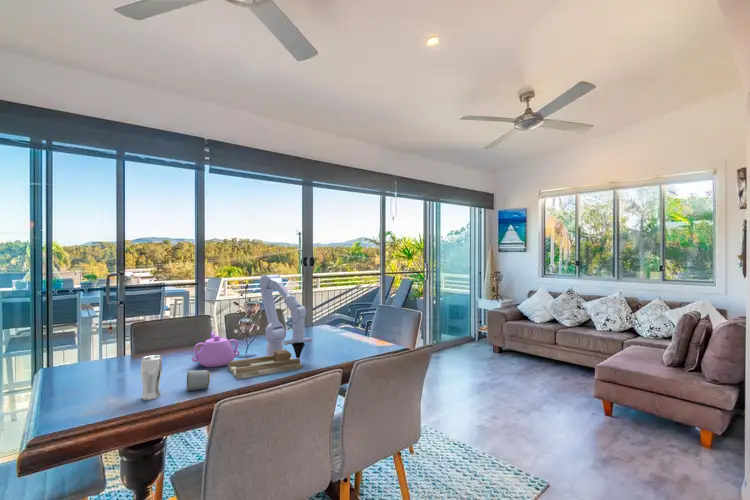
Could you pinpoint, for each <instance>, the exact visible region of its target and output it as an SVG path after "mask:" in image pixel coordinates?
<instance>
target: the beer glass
mask: <svg viewBox="0 0 750 500" xmlns="http://www.w3.org/2000/svg"><path fill="white" fill-rule="evenodd" d="M162 359H163V357H162V356H161V355H157V354H156V355H148V356H144V357H142V358H141V363H140V378H141V382H142V394H141V400H143V401H152V400H155V399H158V398H160V397H161V392H160V381H161V378H162V371H163V364H162V363H163V361H162ZM159 396H160V397H159ZM151 399H152V400H151Z"/></svg>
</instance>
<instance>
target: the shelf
mask: <svg viewBox="0 0 750 500" xmlns="http://www.w3.org/2000/svg"><path fill="white" fill-rule="evenodd" d="M273 359H274V355H271V356H266V355H264V356H257V357H252V358H244V359H238V360H237V359H236V360H233V361H229V364H227V369H228V370H229V371H230V372H231V374H232V375H233V376H234V377H235V378H236V379H237V380H241V379H247V378H253V377H258V376H264V375H270V374H276V373H281V372H288V371H294V370H295V371H296V370H300V369H302V368H303V365H302V363H301V358H293V357H292V353H291V352H290V360H284V361H278V362H274V361H273Z"/></svg>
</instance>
